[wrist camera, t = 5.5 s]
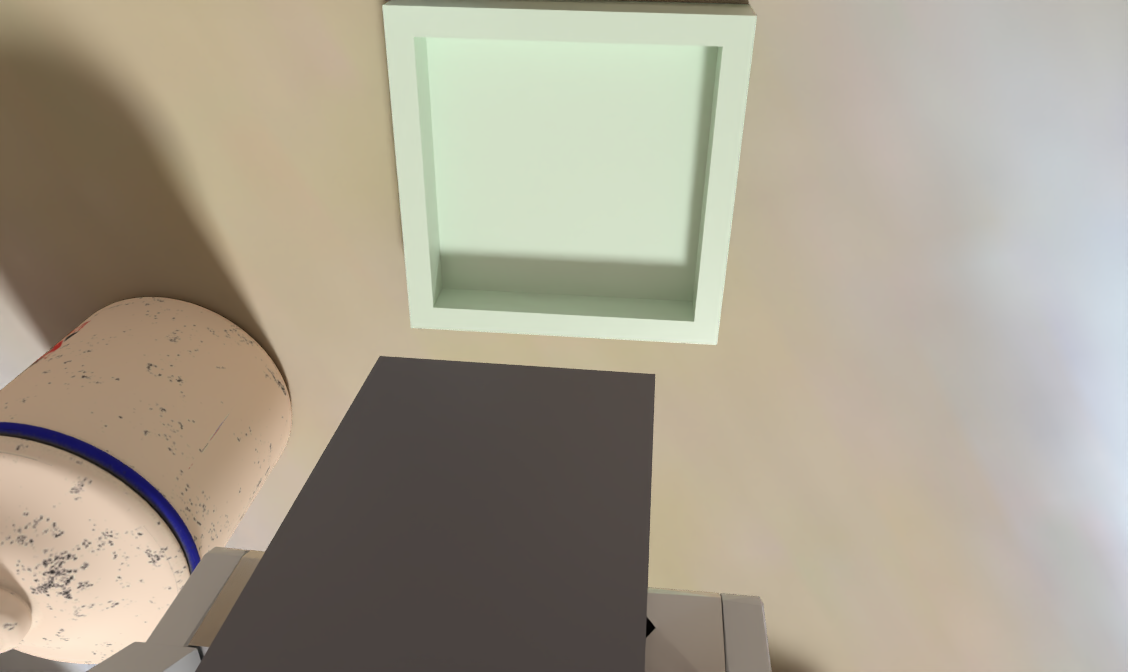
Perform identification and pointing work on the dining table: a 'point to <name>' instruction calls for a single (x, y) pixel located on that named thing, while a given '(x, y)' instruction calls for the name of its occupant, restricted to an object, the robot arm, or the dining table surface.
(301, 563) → the plug
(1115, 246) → the dining table surface
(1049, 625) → the dining table surface
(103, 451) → the teacup with lid
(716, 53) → the tray
